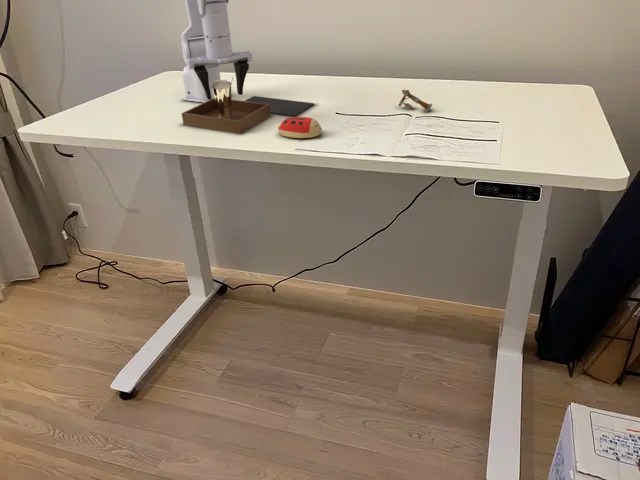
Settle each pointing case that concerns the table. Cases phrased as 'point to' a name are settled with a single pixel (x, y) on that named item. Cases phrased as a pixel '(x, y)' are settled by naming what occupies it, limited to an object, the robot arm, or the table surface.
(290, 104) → the mouse pad
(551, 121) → the table surface
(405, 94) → the wooden post with brackets
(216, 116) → the tray
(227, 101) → the milkshake
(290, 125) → the ladybug figurine
